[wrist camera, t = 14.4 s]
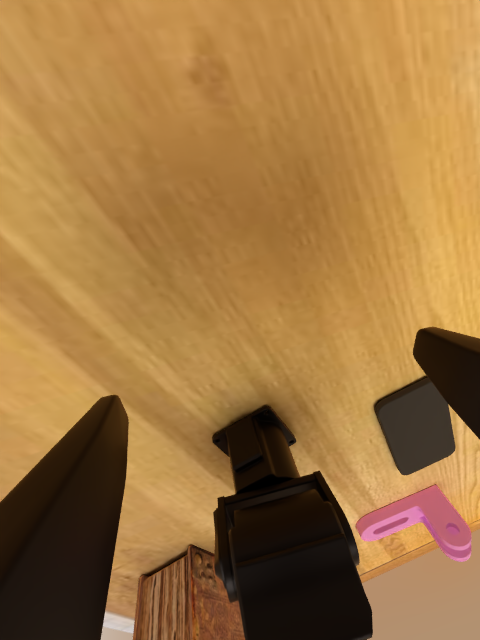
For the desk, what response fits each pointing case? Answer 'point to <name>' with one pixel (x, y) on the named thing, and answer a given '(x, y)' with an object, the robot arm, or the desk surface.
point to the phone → (416, 426)
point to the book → (186, 603)
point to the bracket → (425, 509)
